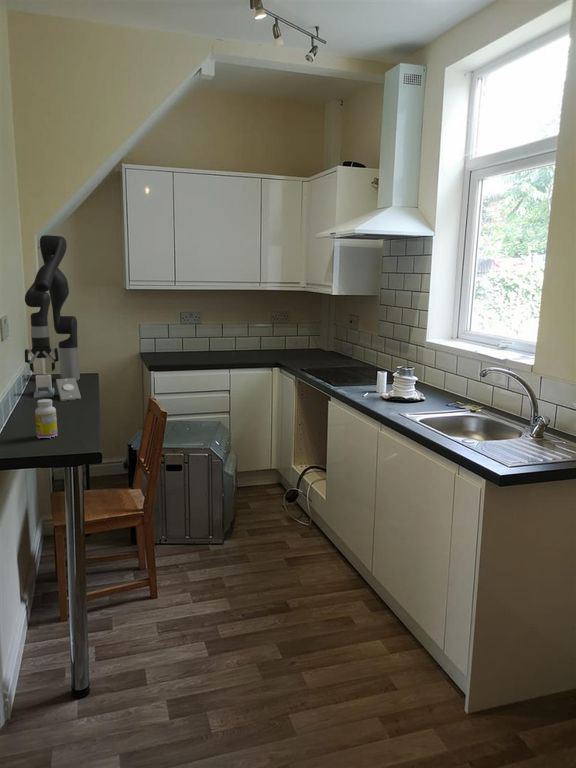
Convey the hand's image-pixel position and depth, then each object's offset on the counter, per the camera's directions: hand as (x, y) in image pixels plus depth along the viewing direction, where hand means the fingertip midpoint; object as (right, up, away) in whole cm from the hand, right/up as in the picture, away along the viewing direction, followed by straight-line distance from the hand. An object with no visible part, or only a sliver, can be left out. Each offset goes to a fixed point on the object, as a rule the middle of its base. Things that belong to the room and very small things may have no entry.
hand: (42, 371), depth 273 cm
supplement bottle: (+30, -24, -68) cm, 78 cm away
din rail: (0, -9, +2) cm, 9 cm away
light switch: (+14, -12, -5) cm, 19 cm away
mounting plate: (0, -11, +2) cm, 11 cm away
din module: (0, -9, +2) cm, 9 cm away
